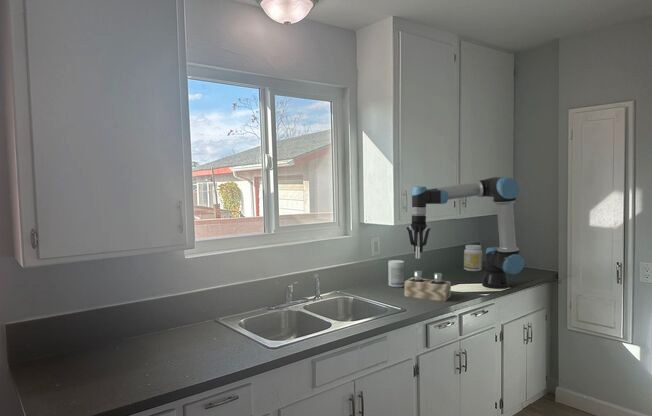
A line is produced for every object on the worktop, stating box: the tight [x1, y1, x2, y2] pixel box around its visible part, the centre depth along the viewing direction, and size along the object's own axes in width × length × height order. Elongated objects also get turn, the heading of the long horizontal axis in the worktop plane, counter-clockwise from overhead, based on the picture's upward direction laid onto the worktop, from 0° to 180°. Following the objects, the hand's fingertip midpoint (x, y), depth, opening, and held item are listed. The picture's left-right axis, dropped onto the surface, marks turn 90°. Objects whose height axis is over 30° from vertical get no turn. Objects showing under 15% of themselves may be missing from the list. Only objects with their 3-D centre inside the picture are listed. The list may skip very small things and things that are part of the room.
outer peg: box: [413, 270, 423, 282], centre depth 253 cm, size 4×4×7 cm
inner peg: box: [433, 272, 443, 284], centre depth 248 cm, size 4×4×7 cm
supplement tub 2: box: [463, 244, 483, 272], centre depth 323 cm, size 12×12×17 cm
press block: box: [403, 277, 452, 302], centre depth 251 cm, size 22×12×8 cm, turn 62°
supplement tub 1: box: [387, 259, 406, 288], centre depth 275 cm, size 10×10×15 cm
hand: (418, 258), depth 253 cm, fingers closed
